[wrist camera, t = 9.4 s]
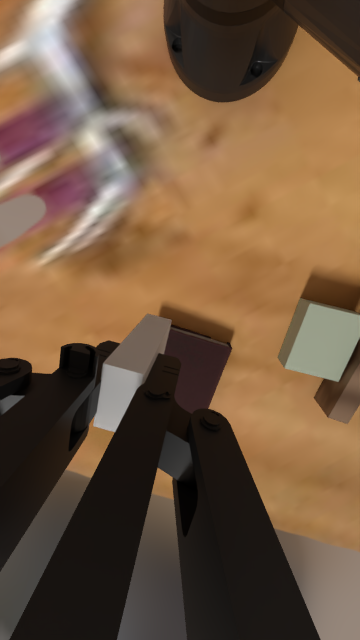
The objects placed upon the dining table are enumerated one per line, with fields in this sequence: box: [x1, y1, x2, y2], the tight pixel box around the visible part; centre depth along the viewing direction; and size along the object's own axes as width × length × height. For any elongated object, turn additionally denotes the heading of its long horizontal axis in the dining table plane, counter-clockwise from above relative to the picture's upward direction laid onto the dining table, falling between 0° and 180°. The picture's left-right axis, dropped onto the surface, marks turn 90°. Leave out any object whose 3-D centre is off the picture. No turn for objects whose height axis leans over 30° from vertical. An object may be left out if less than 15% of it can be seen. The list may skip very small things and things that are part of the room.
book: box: [164, 325, 232, 413], centre depth 42 cm, size 12×19×3 cm, turn 163°
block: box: [278, 298, 360, 382], centre depth 37 cm, size 10×8×4 cm
